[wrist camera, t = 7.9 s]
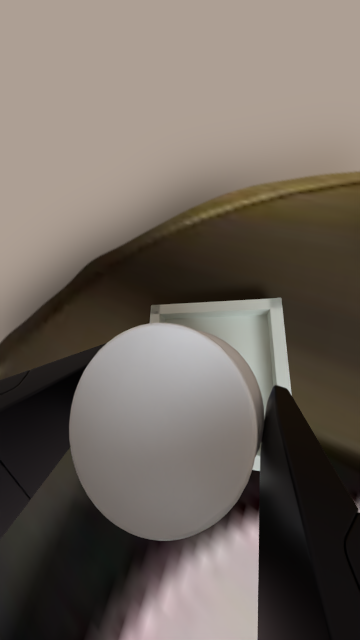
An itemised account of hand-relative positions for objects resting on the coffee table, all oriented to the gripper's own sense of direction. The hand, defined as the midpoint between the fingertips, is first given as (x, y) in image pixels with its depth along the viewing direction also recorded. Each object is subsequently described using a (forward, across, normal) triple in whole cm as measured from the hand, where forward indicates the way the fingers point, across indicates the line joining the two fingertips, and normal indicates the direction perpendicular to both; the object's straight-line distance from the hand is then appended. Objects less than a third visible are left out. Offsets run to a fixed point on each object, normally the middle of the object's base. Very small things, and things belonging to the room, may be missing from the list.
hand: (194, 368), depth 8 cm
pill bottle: (+4, 0, +6) cm, 7 cm away
